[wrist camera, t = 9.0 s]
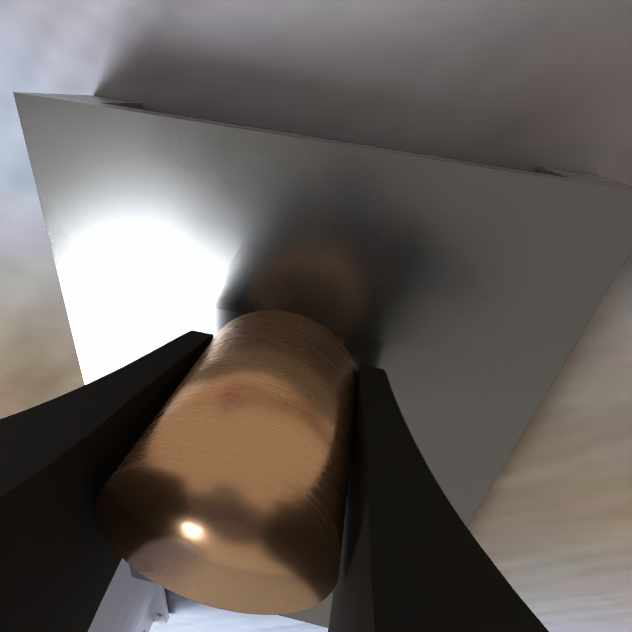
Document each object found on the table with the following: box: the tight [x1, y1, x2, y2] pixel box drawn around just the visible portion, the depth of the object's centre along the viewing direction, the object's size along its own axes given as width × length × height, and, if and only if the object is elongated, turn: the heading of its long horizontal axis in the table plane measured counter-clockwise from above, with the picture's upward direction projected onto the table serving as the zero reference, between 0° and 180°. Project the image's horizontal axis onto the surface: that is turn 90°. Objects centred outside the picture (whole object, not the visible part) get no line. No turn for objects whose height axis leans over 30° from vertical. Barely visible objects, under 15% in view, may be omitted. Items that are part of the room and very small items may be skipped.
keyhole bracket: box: [13, 92, 632, 628], centre depth 15 cm, size 22×14×3 cm, turn 173°
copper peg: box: [96, 310, 358, 615], centre depth 9 cm, size 4×4×8 cm
